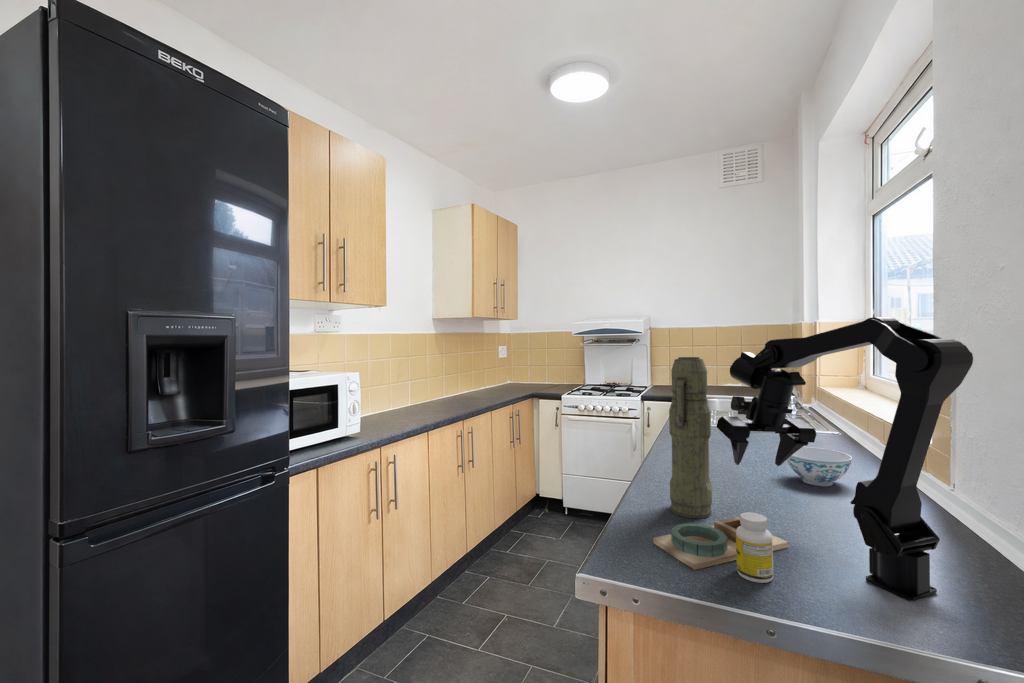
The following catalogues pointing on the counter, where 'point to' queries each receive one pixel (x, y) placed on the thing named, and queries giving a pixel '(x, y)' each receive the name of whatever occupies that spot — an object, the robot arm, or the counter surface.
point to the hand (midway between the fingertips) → (756, 464)
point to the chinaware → (819, 465)
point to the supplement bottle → (754, 548)
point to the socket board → (707, 560)
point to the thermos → (690, 439)
